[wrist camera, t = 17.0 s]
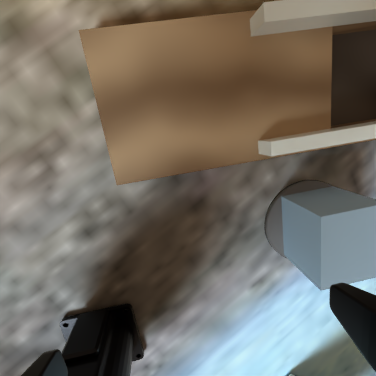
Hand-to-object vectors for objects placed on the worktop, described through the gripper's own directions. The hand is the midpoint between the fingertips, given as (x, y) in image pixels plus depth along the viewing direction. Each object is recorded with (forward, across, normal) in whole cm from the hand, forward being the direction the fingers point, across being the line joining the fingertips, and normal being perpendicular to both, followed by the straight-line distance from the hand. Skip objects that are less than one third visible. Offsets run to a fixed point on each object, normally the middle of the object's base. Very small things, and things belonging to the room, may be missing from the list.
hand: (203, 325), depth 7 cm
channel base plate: (+12, -8, -8) cm, 17 cm away
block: (+12, -12, +4) cm, 17 cm away
